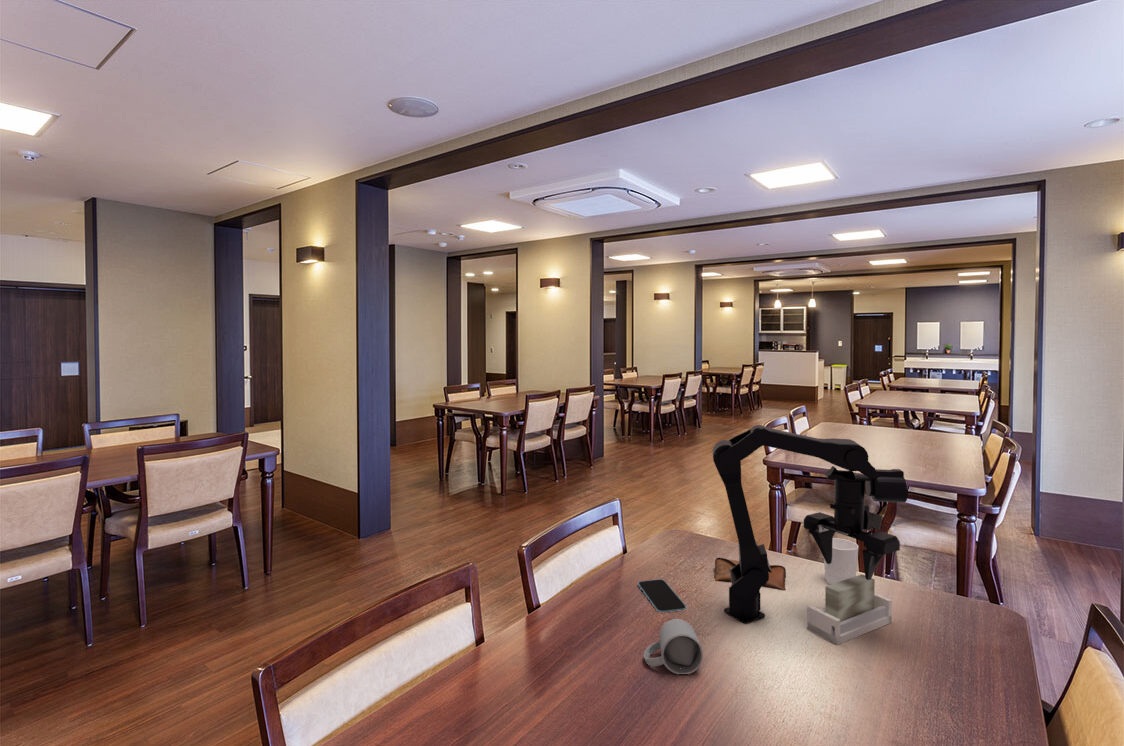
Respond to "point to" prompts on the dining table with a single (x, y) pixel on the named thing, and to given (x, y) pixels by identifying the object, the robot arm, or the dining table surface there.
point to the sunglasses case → (726, 565)
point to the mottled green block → (850, 597)
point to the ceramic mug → (676, 648)
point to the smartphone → (661, 595)
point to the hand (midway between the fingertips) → (848, 571)
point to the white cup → (841, 561)
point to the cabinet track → (849, 621)
